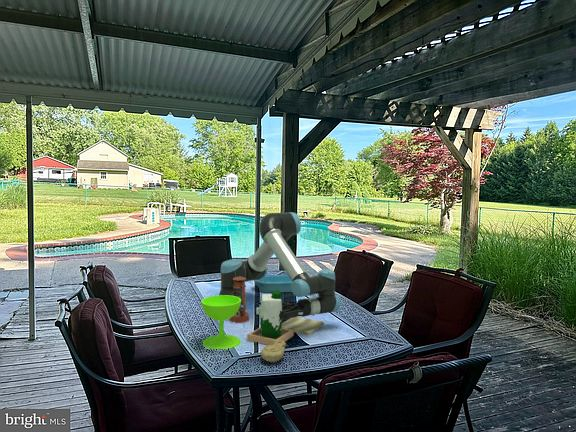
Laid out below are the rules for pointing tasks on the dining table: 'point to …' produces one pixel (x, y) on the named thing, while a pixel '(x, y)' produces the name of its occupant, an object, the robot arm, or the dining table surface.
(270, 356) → the oil lamp
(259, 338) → the holder
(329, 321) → the dining table surface
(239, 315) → the lantern
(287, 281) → the casserole dish
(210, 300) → the wineglass
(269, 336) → the green white milk carton
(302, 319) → the board
